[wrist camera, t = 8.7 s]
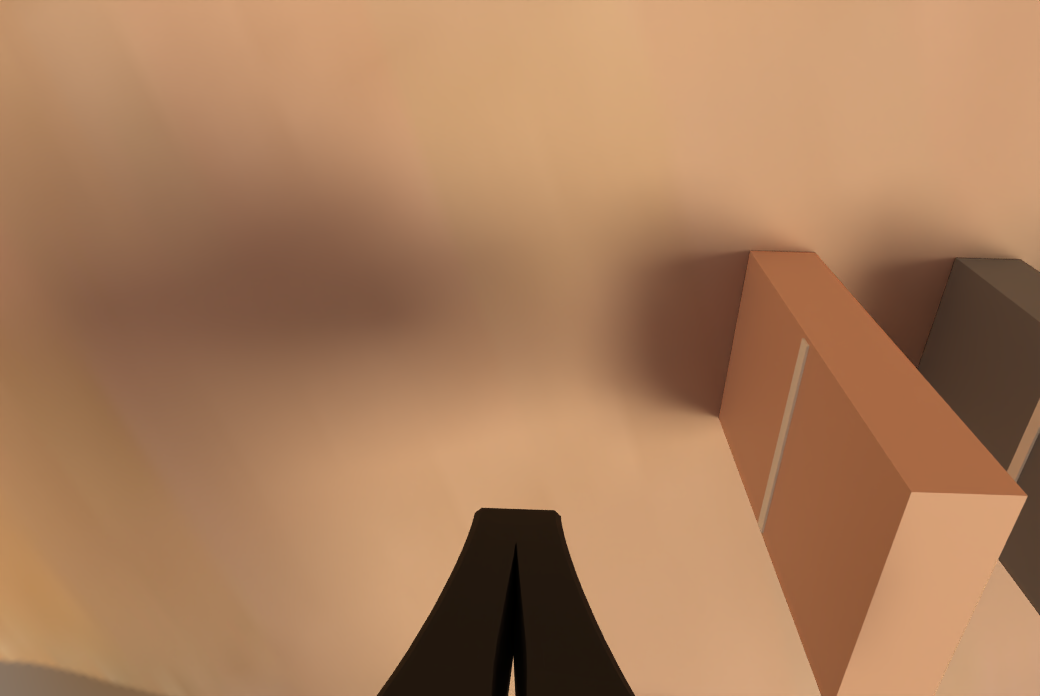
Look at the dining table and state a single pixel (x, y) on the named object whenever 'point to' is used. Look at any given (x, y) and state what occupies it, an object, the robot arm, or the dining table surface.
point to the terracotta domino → (858, 483)
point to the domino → (996, 384)
